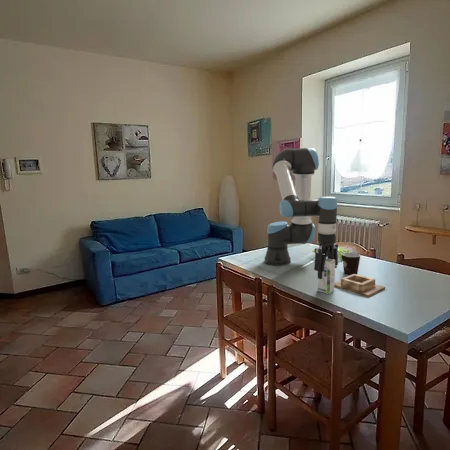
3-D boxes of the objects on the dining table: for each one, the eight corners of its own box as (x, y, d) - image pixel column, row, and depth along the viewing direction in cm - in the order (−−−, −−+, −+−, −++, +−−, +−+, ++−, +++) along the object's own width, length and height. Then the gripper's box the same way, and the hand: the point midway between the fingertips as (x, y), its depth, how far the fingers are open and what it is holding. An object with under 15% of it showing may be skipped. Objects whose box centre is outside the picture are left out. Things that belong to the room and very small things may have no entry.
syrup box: (316, 291, 146) (317, 259, 144) (322, 287, 151) (323, 256, 148) (328, 294, 142) (329, 262, 140) (334, 290, 147) (335, 259, 144)
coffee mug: (361, 276, 163) (362, 257, 162) (342, 276, 165) (343, 256, 163) (356, 269, 174) (357, 251, 173) (339, 269, 176) (340, 250, 174)
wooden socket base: (331, 285, 152) (331, 277, 152) (348, 279, 160) (349, 271, 160) (368, 297, 138) (368, 288, 137) (385, 289, 146) (385, 280, 146)
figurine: (310, 259, 196) (310, 250, 195) (320, 249, 219) (321, 241, 218) (342, 263, 187) (342, 253, 186) (350, 252, 210) (350, 243, 209)
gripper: (320, 237, 133) (319, 291, 137) (347, 230, 145) (346, 280, 149) (305, 234, 139) (305, 286, 143) (333, 228, 151) (331, 276, 155)
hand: (325, 283), depth 146 cm, fingers closed on syrup box, 6 cm apart
